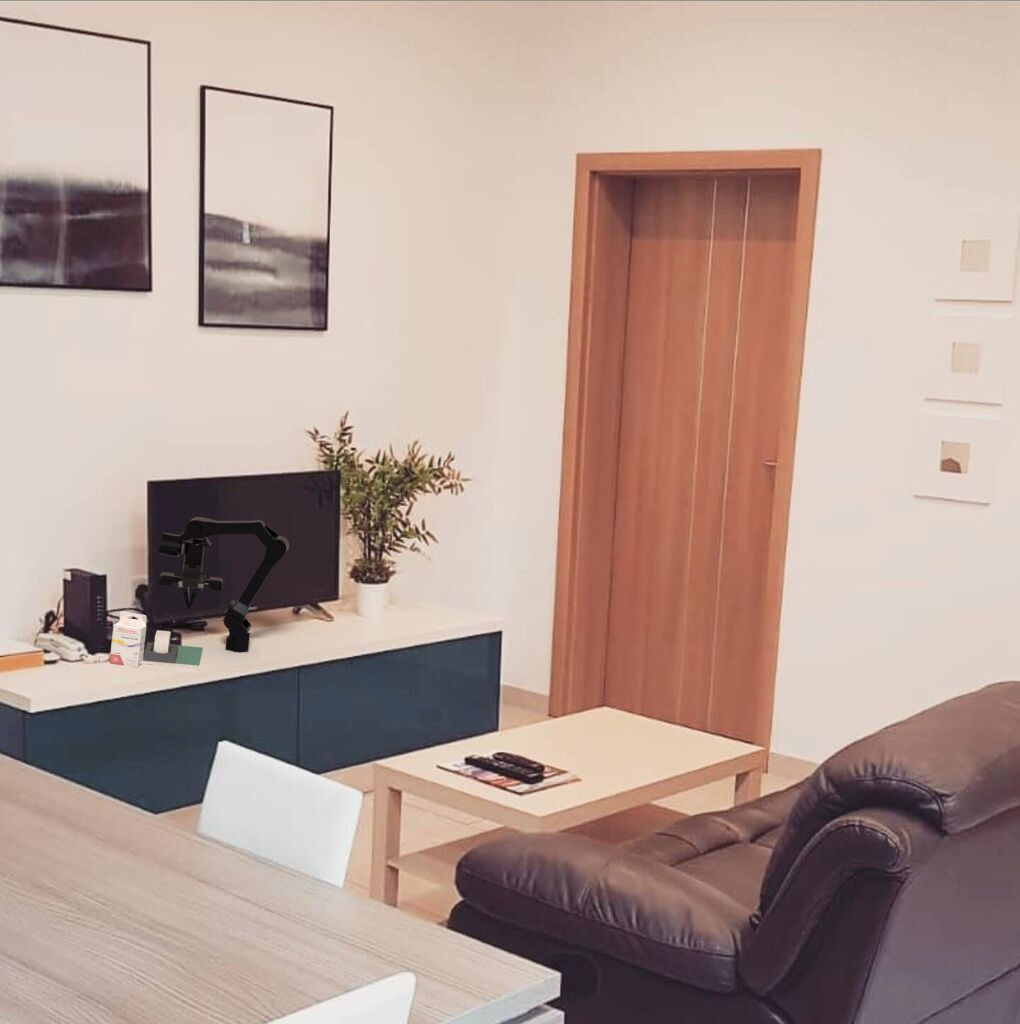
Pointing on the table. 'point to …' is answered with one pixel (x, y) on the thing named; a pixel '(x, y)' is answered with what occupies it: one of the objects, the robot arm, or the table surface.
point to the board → (174, 654)
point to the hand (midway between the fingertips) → (188, 608)
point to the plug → (162, 641)
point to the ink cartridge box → (128, 640)
